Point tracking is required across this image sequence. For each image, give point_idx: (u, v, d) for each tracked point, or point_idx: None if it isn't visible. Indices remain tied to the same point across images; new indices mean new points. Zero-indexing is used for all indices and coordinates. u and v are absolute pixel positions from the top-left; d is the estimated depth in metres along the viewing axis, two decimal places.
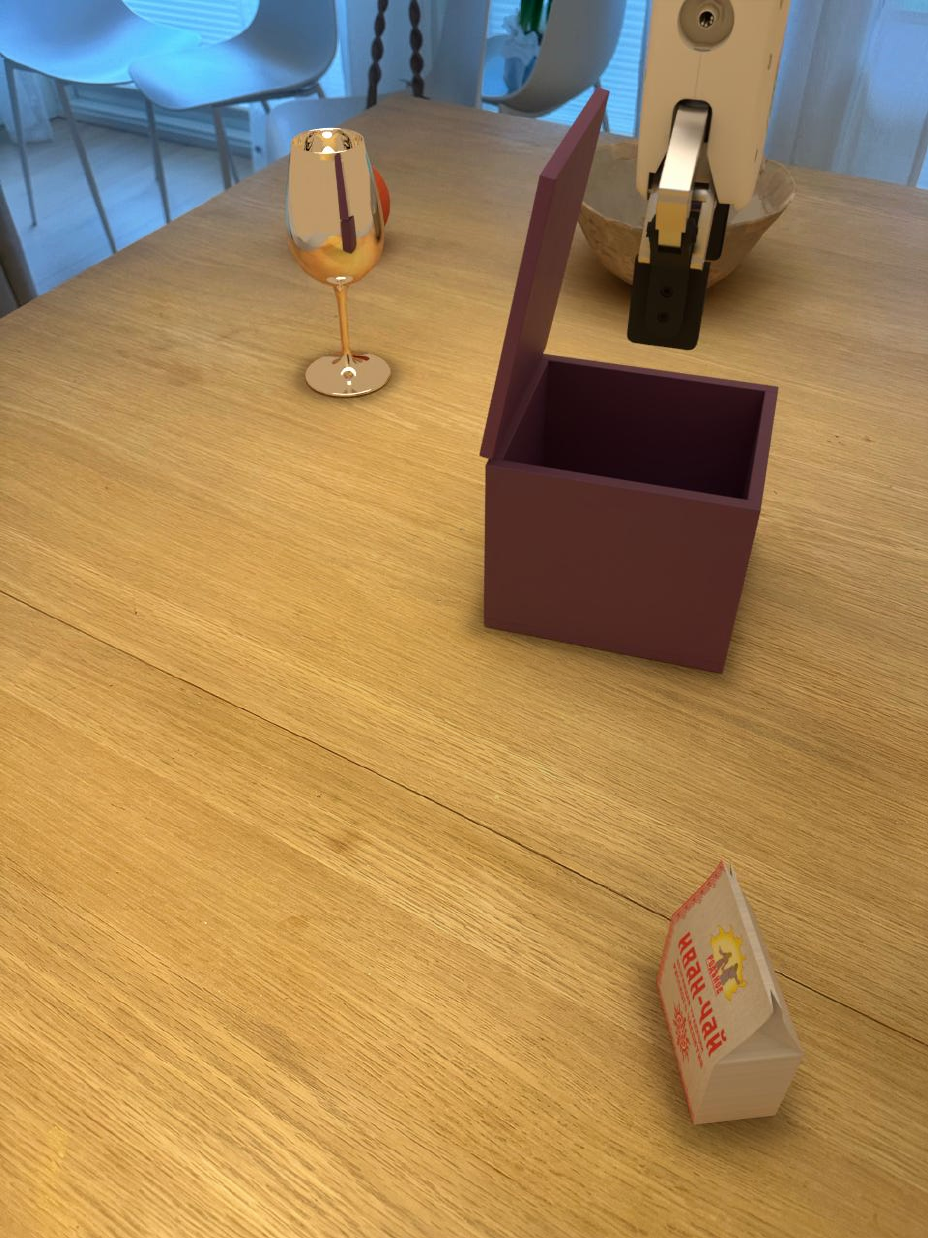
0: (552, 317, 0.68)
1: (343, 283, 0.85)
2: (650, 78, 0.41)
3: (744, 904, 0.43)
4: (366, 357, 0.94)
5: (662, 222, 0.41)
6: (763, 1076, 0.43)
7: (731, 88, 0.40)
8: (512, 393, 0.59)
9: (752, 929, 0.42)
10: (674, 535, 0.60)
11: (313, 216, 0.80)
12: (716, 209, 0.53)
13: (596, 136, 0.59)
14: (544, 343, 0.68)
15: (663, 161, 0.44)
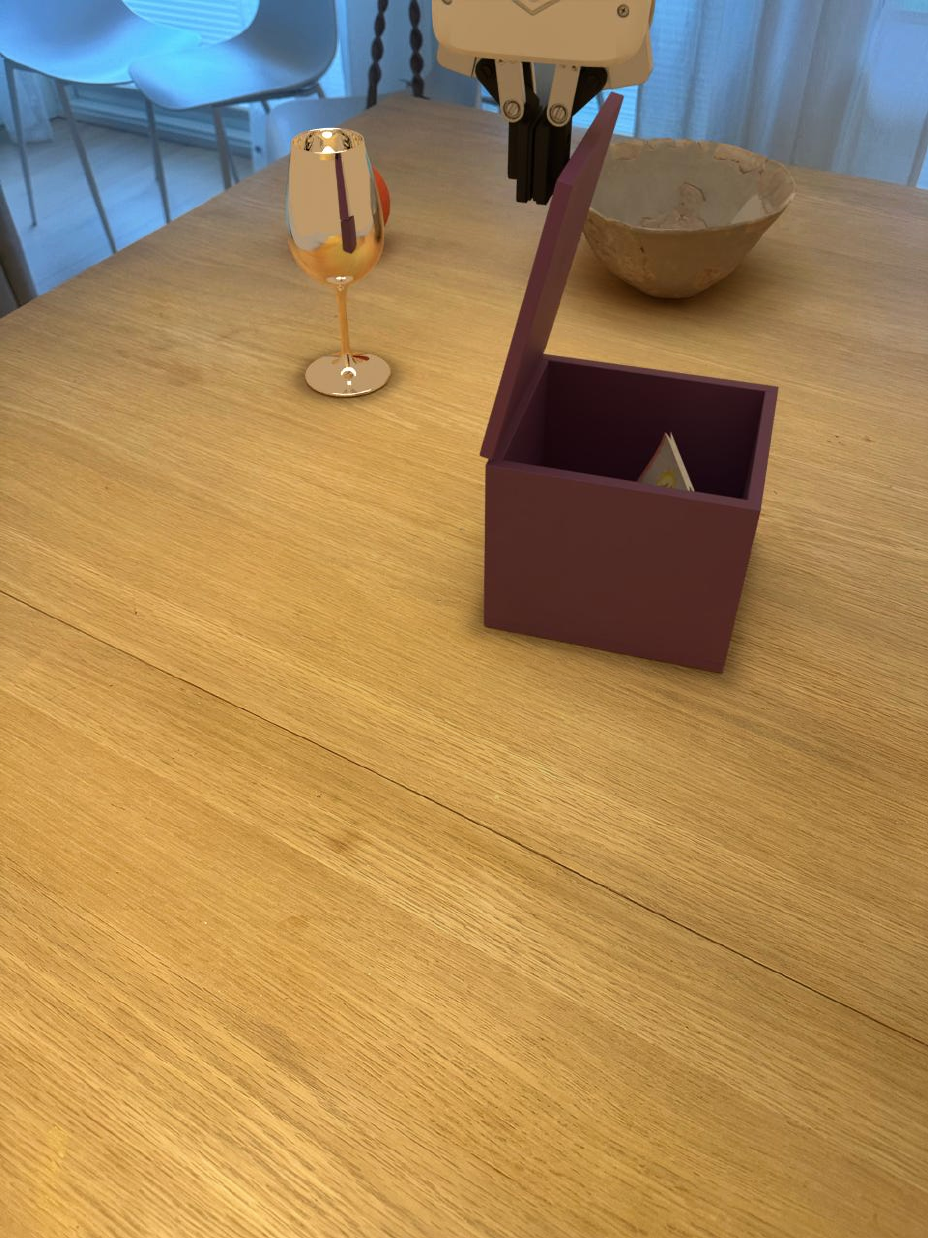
0: (554, 318, 0.68)
1: (343, 283, 0.85)
2: None
3: (677, 450, 0.65)
4: (366, 357, 0.94)
5: None
6: None
7: None
8: (515, 394, 0.59)
9: (681, 461, 0.64)
10: (674, 535, 0.60)
11: (313, 216, 0.80)
12: None
13: (608, 140, 0.59)
14: (545, 344, 0.68)
15: None
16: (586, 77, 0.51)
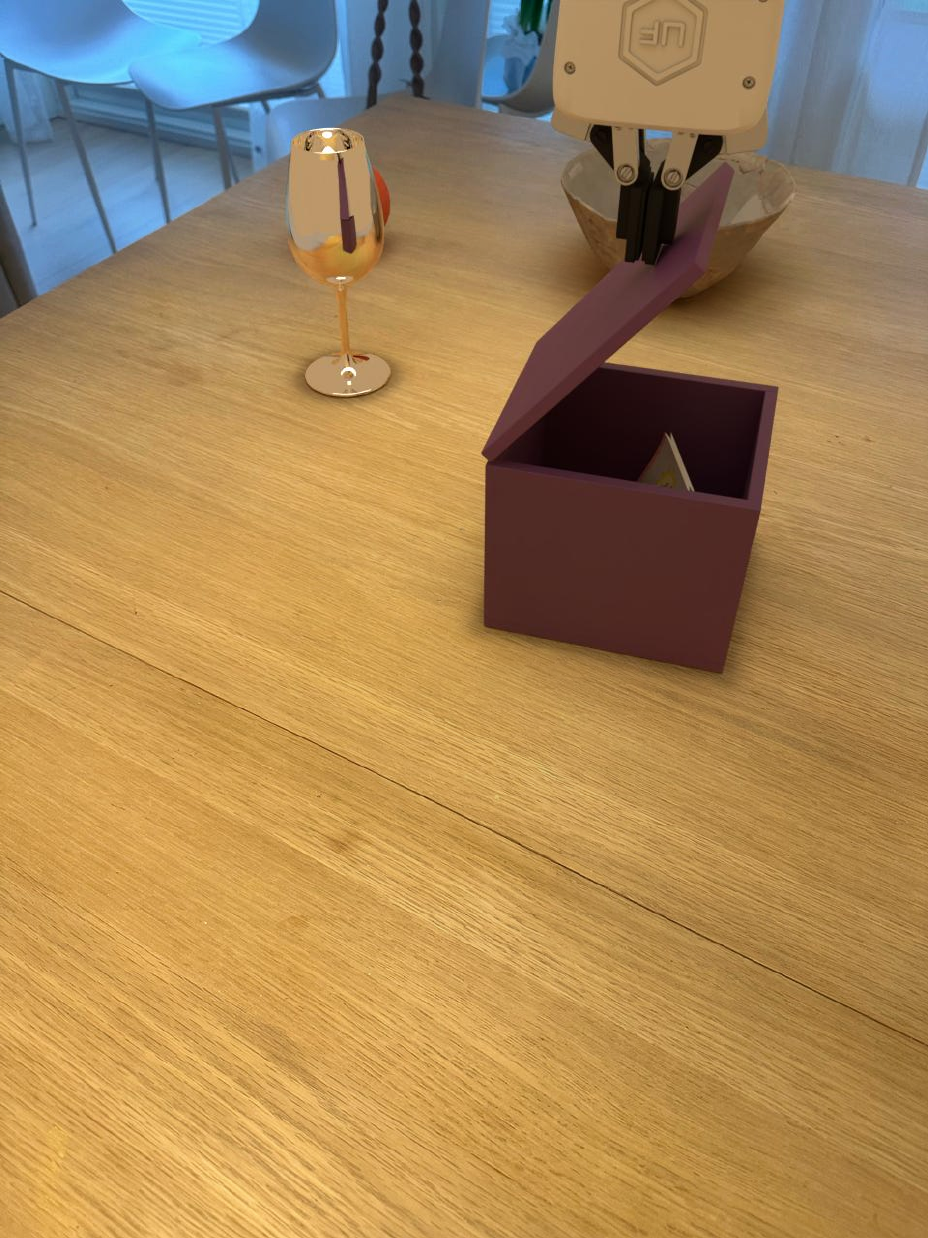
0: None
1: (343, 283, 0.85)
2: None
3: (677, 450, 0.65)
4: (366, 357, 0.94)
5: None
6: None
7: None
8: None
9: (681, 461, 0.64)
10: (674, 535, 0.60)
11: (313, 216, 0.80)
12: None
13: None
14: None
15: None
16: (703, 143, 0.51)
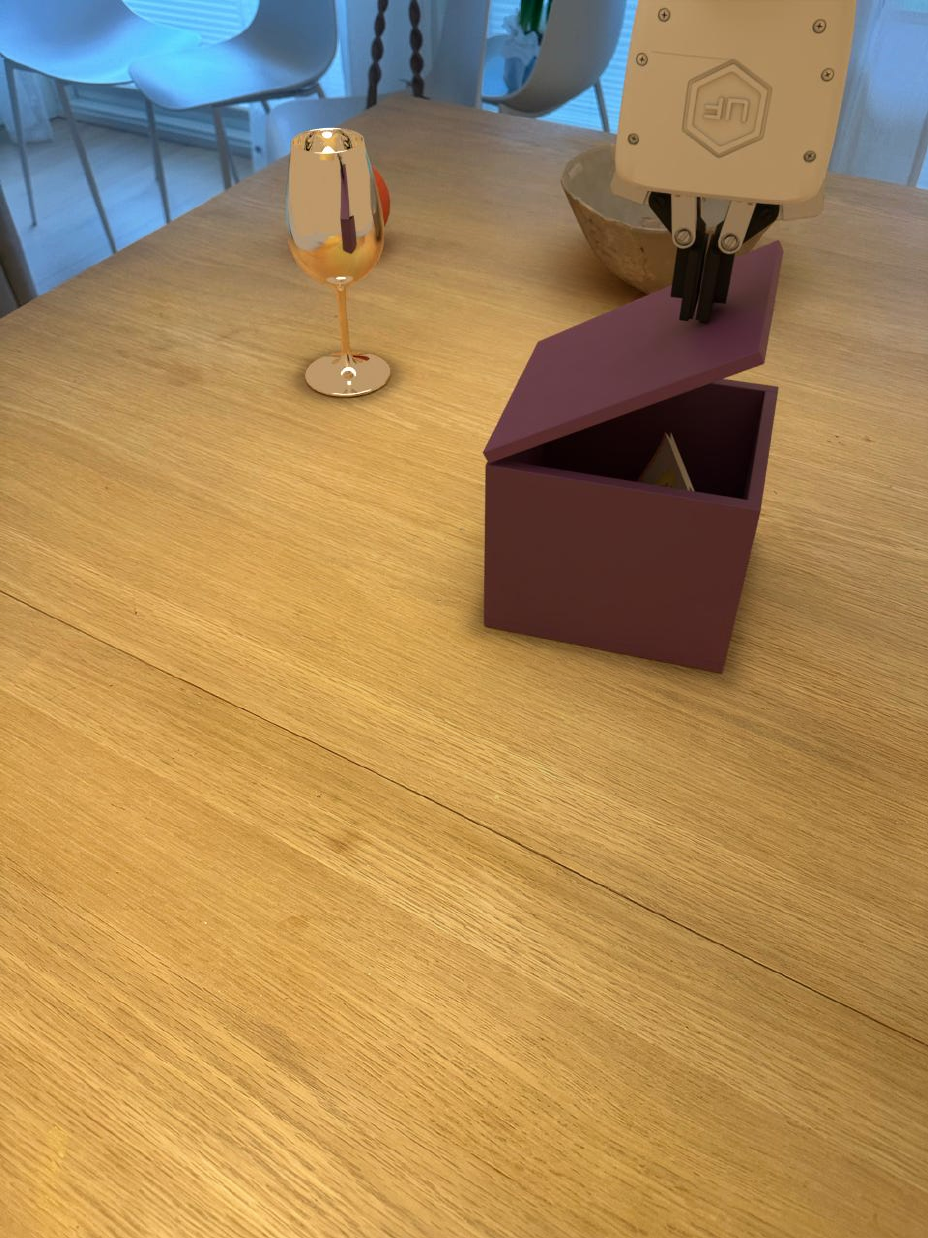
0: None
1: (343, 283, 0.85)
2: None
3: (677, 450, 0.65)
4: (366, 357, 0.94)
5: None
6: None
7: None
8: None
9: (681, 461, 0.64)
10: (674, 535, 0.60)
11: (313, 216, 0.80)
12: None
13: None
14: None
15: None
16: (760, 210, 0.53)
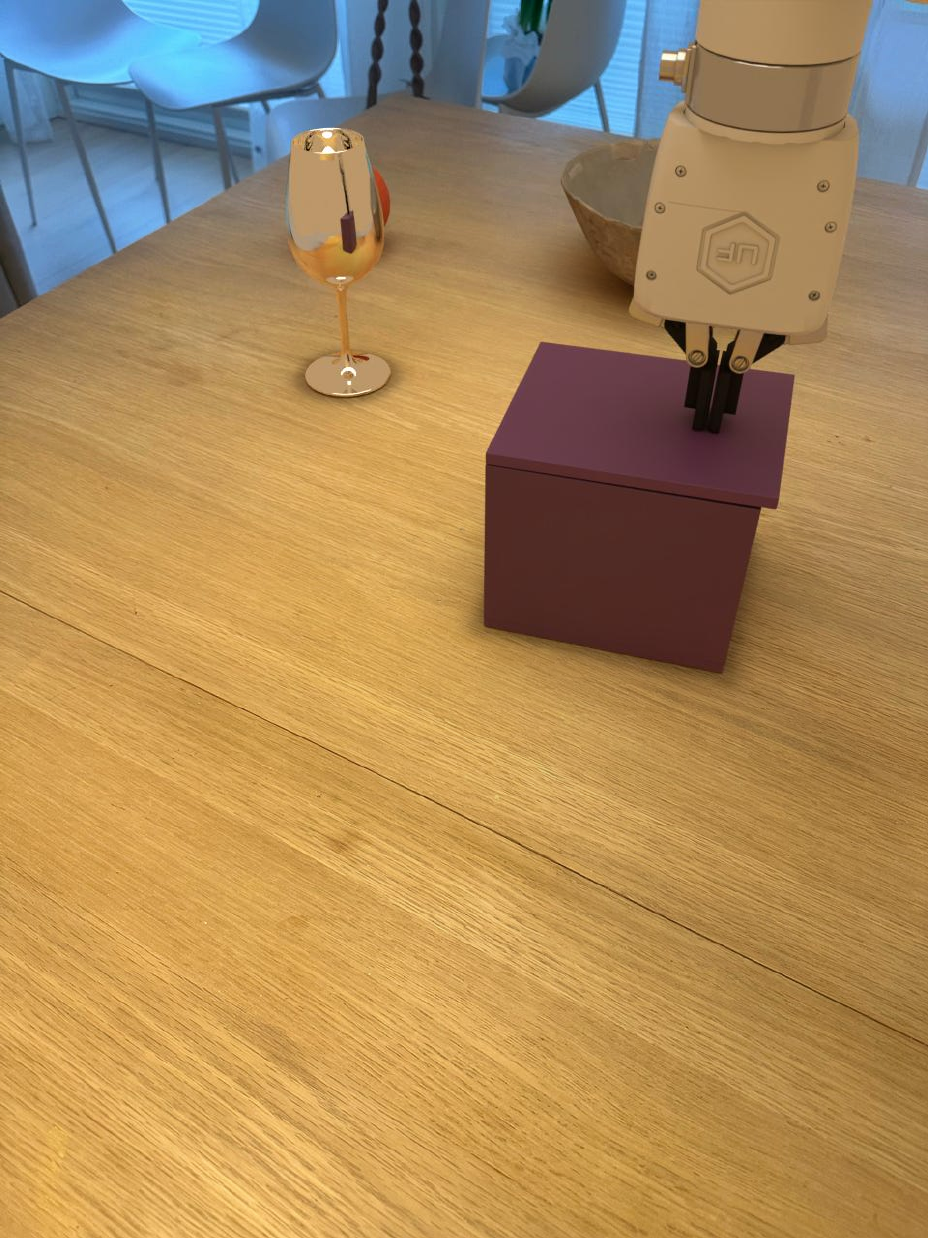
0: None
1: (343, 283, 0.85)
2: None
3: None
4: (366, 357, 0.94)
5: None
6: None
7: None
8: None
9: None
10: (674, 535, 0.60)
11: (313, 216, 0.80)
12: None
13: None
14: None
15: None
16: (768, 335, 0.57)
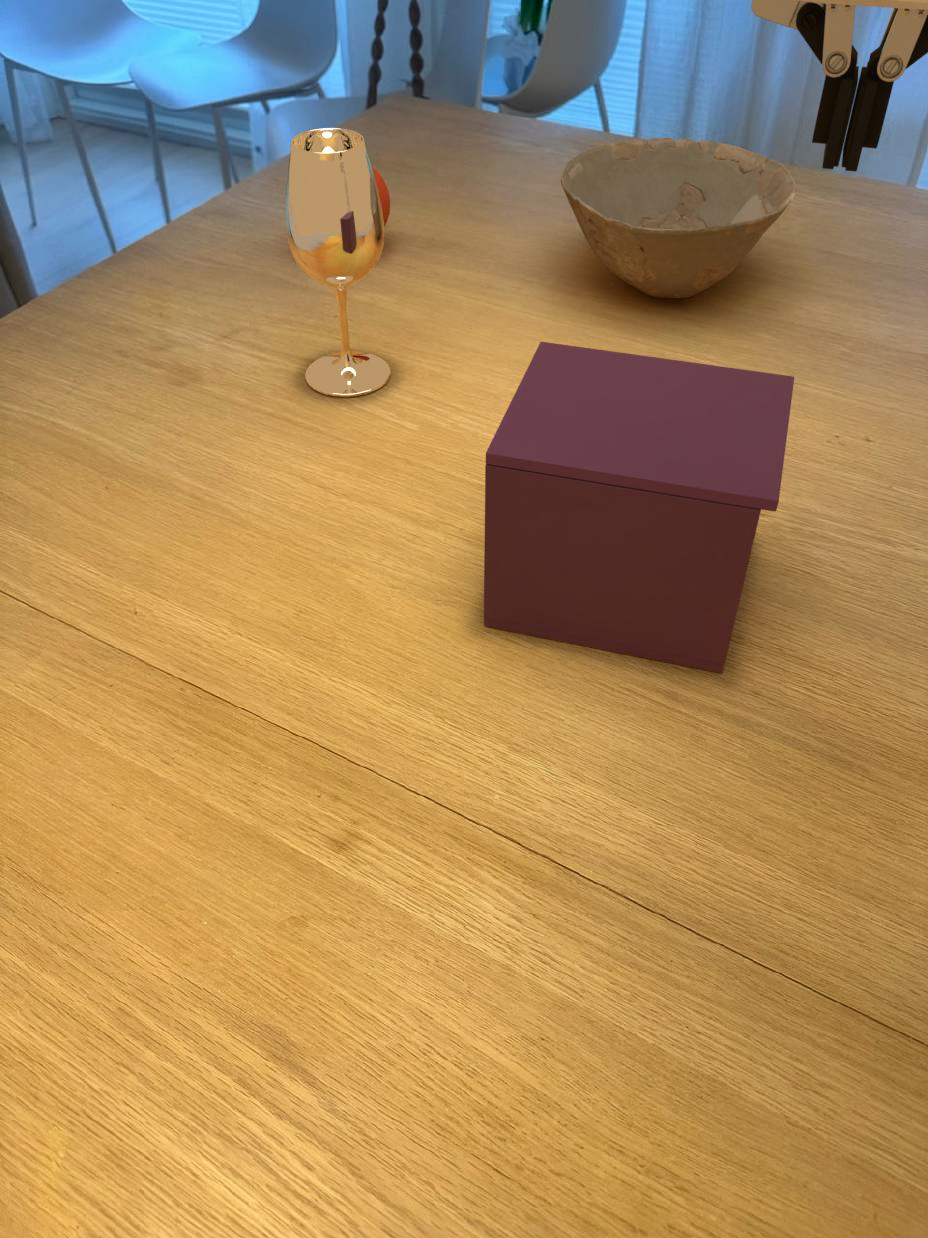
0: None
1: (343, 283, 0.85)
2: None
3: None
4: (366, 357, 0.94)
5: None
6: None
7: None
8: None
9: None
10: (674, 535, 0.60)
11: (313, 216, 0.80)
12: (855, 107, 0.48)
13: None
14: None
15: None
16: None
